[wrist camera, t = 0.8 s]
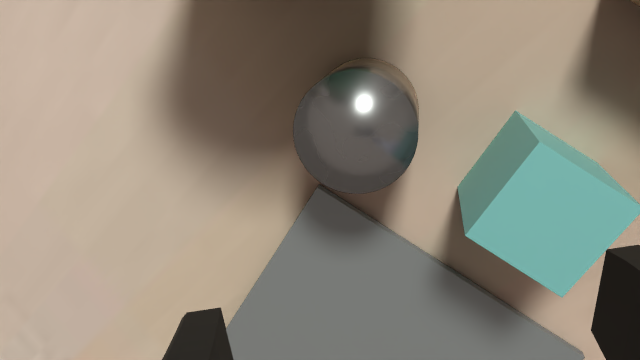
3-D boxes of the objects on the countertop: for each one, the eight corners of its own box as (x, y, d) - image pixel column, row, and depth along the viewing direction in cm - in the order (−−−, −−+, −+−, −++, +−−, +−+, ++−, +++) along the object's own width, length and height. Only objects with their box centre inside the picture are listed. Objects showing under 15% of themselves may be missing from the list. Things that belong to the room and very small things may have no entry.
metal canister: (439, 95, 26) (443, 116, 22) (380, 179, 28) (372, 216, 23) (350, 37, 26) (334, 45, 21) (296, 125, 28) (271, 150, 23)
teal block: (597, 162, 26) (644, 208, 20) (534, 236, 27) (562, 297, 22) (515, 110, 26) (539, 141, 20) (457, 186, 27) (464, 235, 22)
